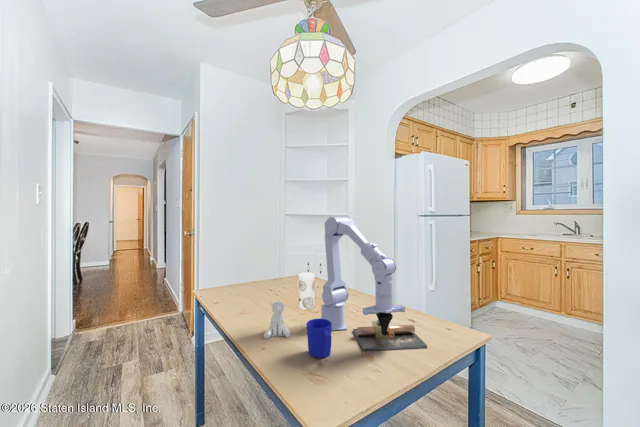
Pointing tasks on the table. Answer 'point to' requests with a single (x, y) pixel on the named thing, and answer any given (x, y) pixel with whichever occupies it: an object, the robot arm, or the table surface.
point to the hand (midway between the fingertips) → (384, 334)
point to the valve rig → (388, 338)
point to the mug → (319, 337)
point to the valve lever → (388, 330)
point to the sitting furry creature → (277, 322)
